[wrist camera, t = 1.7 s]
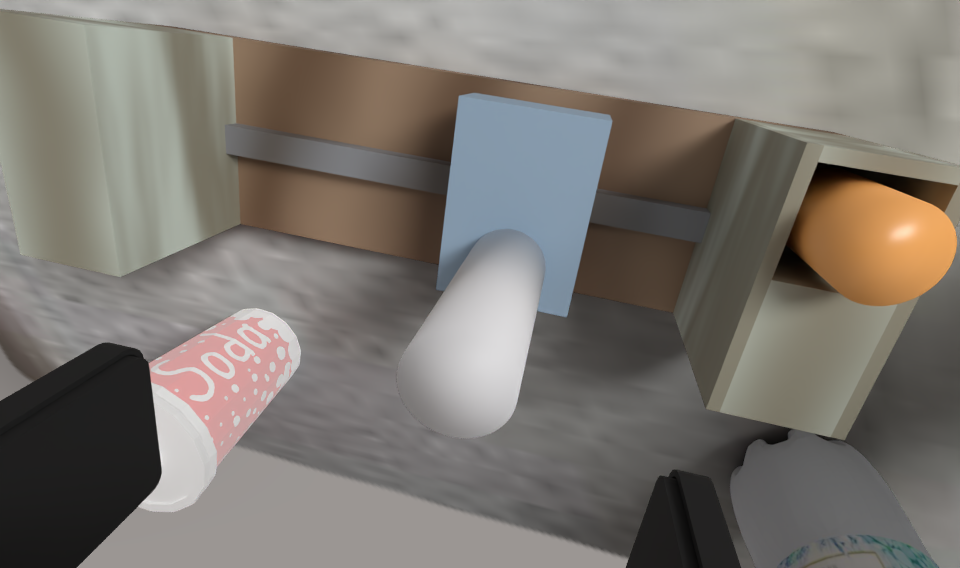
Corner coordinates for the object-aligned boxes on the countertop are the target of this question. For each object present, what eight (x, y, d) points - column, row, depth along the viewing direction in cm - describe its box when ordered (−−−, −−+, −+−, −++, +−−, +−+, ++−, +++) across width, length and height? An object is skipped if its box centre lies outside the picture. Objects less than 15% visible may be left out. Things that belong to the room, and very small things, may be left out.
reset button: (885, 176, 15) (980, 209, 11) (848, 260, 16) (923, 316, 12) (790, 160, 15) (853, 188, 12) (760, 244, 16) (808, 293, 13)
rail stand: (833, 132, 20) (985, 171, 12) (760, 317, 23) (844, 440, 16) (161, 24, 24) (-48, 3, 16) (177, 199, 27) (9, 252, 19)
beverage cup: (336, 355, 29) (130, 587, 16) (271, 411, 31) (47, 651, 18) (252, 272, 28) (-38, 447, 15) (192, 336, 30) (-103, 534, 17)
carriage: (609, 115, 19) (630, 161, 9) (569, 291, 22) (553, 465, 12) (474, 92, 20) (363, 114, 10) (451, 267, 22) (348, 415, 13)
